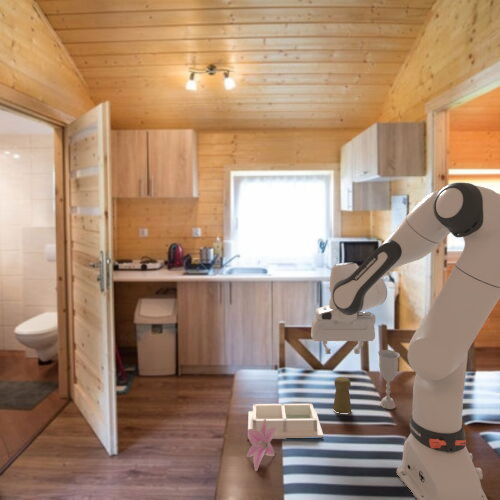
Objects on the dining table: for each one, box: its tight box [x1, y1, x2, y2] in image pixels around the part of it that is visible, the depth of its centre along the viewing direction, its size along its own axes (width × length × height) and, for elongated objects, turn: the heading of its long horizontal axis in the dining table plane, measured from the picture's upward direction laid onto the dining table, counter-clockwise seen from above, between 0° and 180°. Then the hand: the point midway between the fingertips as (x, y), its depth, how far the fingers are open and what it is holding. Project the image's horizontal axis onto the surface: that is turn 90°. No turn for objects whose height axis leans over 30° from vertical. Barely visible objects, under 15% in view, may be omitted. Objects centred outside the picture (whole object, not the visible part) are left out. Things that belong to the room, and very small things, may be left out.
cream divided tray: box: [247, 403, 324, 440], centre depth 122 cm, size 14×22×4 cm, turn 89°
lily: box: [246, 419, 278, 472], centre depth 106 cm, size 12×12×10 cm
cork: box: [332, 376, 352, 413], centre depth 131 cm, size 6×6×11 cm
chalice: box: [377, 349, 401, 410], centre depth 133 cm, size 7×7×18 cm
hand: (342, 353), depth 129 cm, fingers open, 8 cm apart
